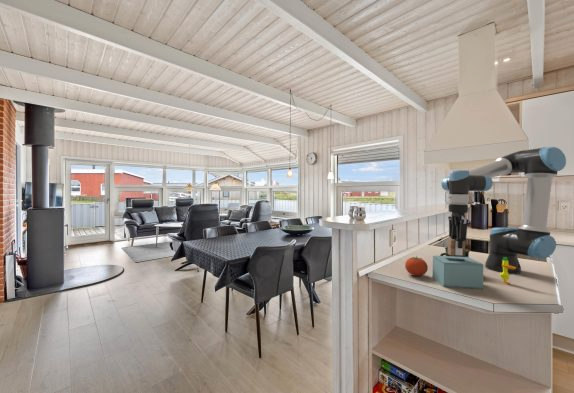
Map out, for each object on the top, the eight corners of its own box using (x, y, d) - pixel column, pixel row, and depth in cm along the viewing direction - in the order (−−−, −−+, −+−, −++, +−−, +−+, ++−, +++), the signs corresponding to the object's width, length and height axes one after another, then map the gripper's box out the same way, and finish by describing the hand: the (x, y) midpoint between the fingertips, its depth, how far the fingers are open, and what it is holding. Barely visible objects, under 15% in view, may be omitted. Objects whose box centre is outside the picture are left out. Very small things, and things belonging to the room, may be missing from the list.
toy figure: (517, 285, 116) (518, 259, 116) (512, 286, 115) (513, 260, 115) (501, 280, 123) (501, 256, 122) (496, 281, 121) (496, 256, 121)
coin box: (467, 279, 124) (468, 257, 124) (482, 289, 112) (483, 264, 112) (432, 277, 126) (432, 255, 126) (443, 286, 115) (444, 262, 114)
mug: (474, 275, 131) (475, 251, 130) (446, 275, 130) (447, 251, 130) (459, 268, 142) (460, 246, 141) (433, 268, 141) (434, 246, 141)
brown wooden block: (461, 254, 120) (462, 239, 120) (464, 256, 117) (465, 241, 117) (447, 253, 121) (448, 239, 121) (450, 255, 118) (451, 240, 118)
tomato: (404, 271, 136) (404, 252, 136) (425, 273, 133) (425, 254, 132) (406, 277, 126) (406, 257, 126) (429, 280, 123) (429, 259, 123)
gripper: (441, 202, 127) (440, 249, 127) (458, 204, 111) (456, 258, 111) (458, 203, 125) (456, 250, 126) (477, 205, 110) (475, 259, 110)
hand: (456, 253), depth 119 cm, fingers closed on brown wooden block, 3 cm apart
